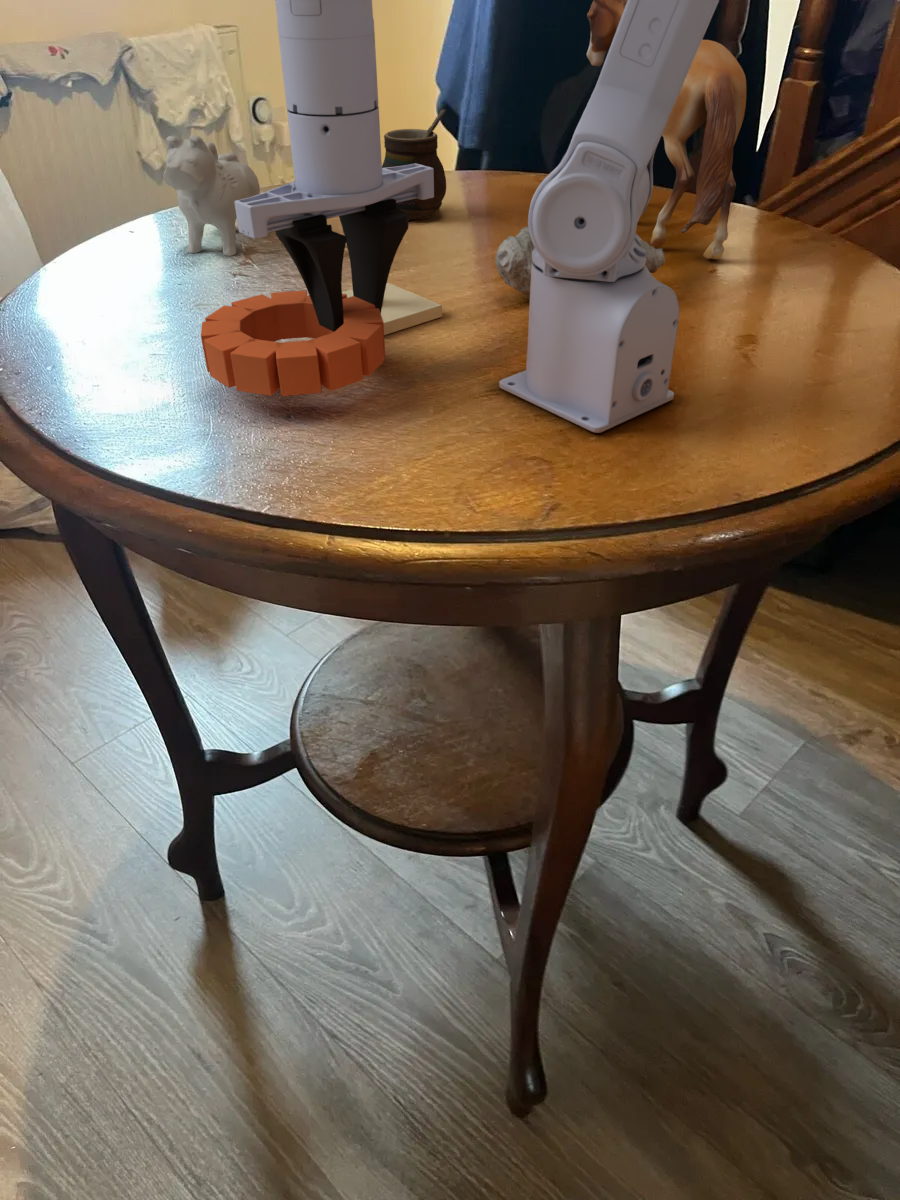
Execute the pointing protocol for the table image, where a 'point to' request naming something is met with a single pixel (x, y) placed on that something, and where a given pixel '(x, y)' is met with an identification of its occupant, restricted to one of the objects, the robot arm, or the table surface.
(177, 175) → the dog figurine
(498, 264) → the seashell
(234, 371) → the ring
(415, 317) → the stand
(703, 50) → the horse figurine
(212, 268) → the table surface
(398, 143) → the mate gourd
